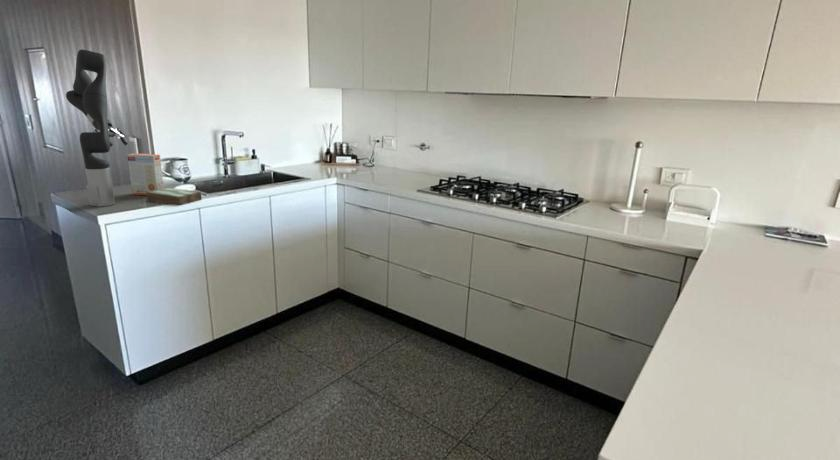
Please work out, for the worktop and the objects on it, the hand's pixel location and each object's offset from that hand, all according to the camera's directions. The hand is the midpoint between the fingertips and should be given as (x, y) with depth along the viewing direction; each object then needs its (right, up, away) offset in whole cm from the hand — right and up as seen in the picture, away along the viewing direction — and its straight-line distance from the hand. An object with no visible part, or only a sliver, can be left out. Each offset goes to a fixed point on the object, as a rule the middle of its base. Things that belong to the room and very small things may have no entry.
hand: (119, 144), depth 235 cm
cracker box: (+15, -26, +1) cm, 30 cm away
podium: (+33, -29, -7) cm, 44 cm away
